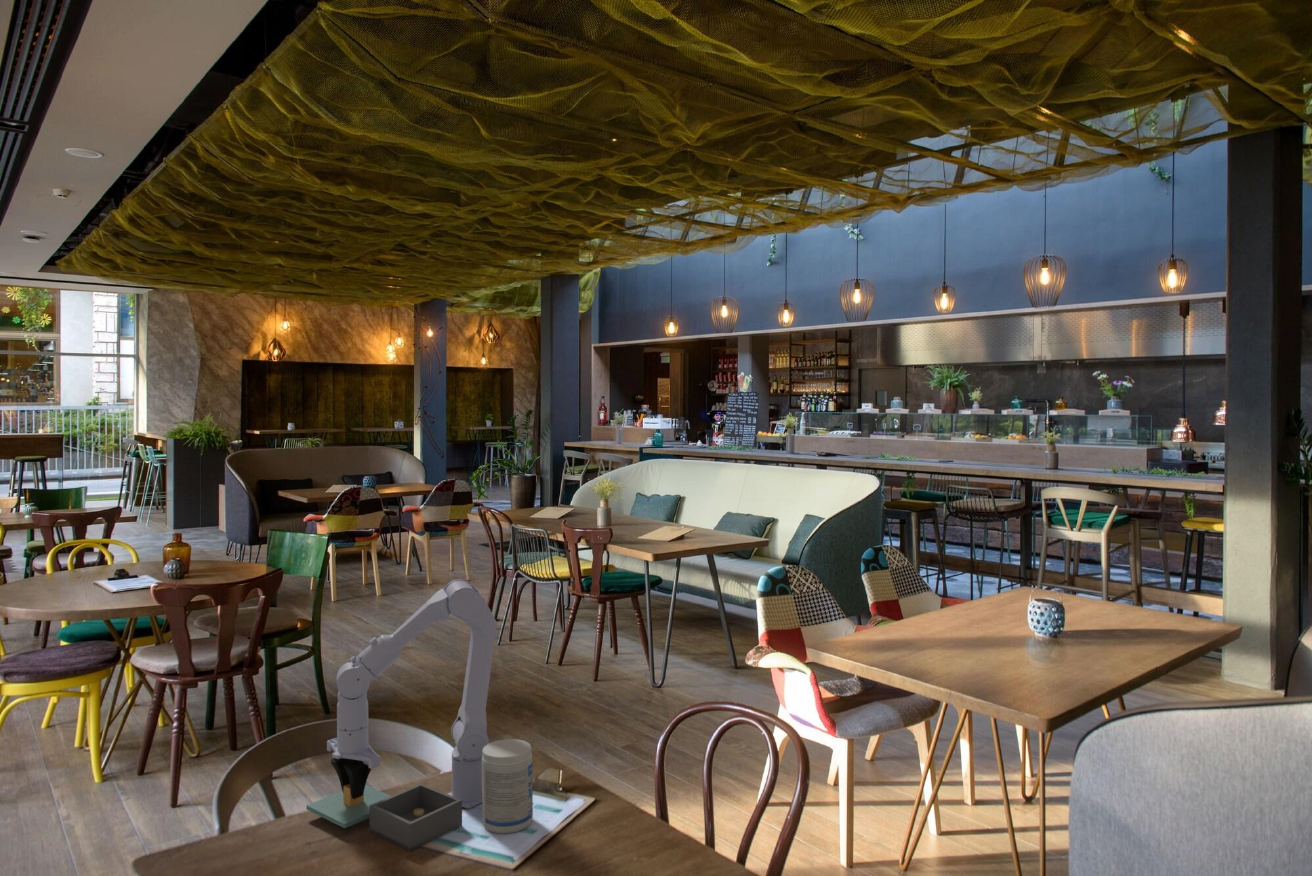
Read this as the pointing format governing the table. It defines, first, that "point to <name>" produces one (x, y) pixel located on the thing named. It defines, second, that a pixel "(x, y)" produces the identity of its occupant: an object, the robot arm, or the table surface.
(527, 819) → the supplement tub
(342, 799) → the lid
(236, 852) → the table surface
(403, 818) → the parts tub
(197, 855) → the table surface
